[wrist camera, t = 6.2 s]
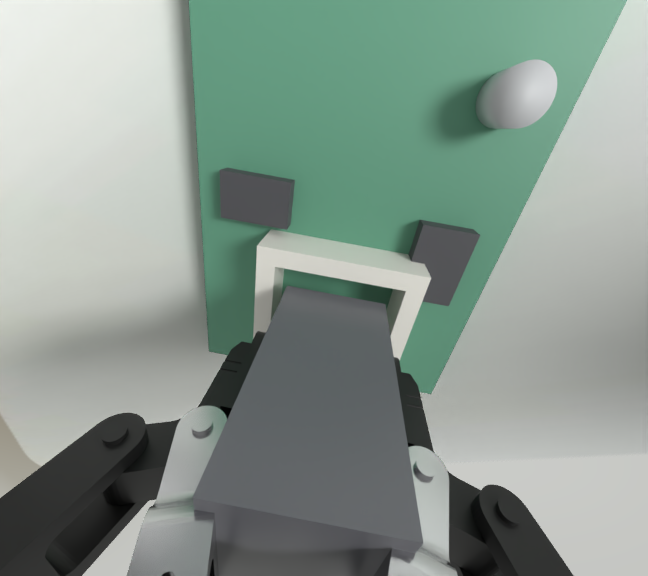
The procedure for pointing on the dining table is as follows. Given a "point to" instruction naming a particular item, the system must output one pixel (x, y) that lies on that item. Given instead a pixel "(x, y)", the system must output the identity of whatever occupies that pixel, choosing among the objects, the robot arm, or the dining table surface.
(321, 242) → the header
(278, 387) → the plug
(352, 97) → the board
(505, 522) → the robot arm
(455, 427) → the dining table surface
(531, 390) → the dining table surface
